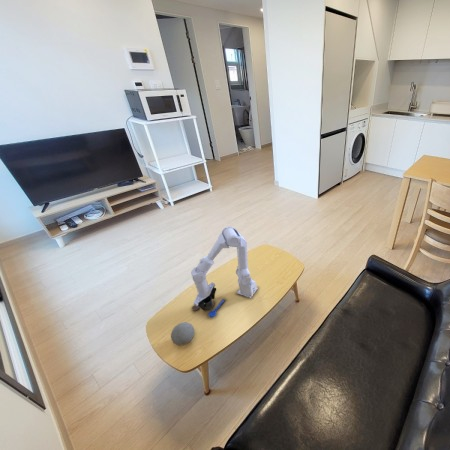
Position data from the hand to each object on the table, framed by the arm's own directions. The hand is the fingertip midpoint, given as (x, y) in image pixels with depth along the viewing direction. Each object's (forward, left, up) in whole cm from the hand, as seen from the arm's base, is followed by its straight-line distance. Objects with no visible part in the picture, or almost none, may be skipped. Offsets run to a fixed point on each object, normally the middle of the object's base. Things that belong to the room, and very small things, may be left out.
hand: (208, 303), depth 131 cm
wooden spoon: (+6, 0, -2) cm, 6 cm away
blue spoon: (-5, 0, -2) cm, 6 cm away
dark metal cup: (0, 0, -2) cm, 2 cm away
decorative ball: (-2, +20, -2) cm, 20 cm away
